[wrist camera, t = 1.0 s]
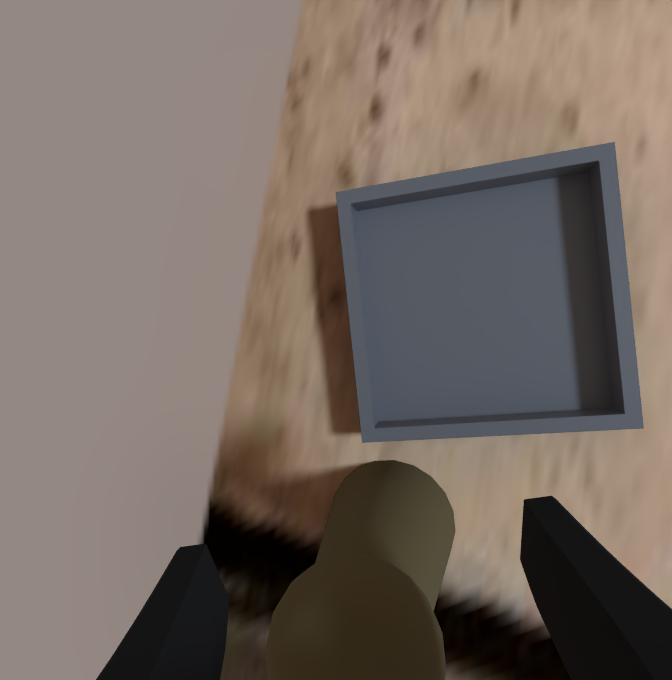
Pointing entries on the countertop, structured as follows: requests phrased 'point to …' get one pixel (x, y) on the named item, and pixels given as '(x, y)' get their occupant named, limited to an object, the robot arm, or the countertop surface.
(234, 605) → the countertop surface
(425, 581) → the cork
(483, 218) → the tray
